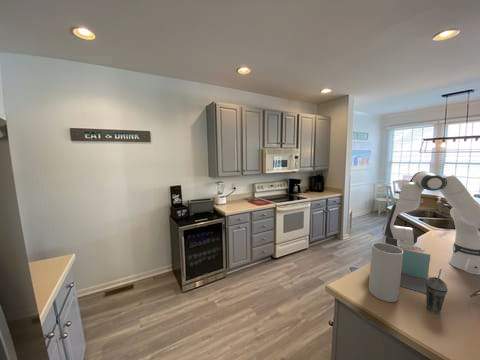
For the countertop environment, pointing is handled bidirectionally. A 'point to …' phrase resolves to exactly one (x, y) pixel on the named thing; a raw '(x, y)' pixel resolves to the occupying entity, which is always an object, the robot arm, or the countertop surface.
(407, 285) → the mat
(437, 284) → the beverage cup
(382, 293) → the cylinder vase
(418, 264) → the tile
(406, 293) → the countertop surface
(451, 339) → the countertop surface
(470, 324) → the countertop surface
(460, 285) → the countertop surface
